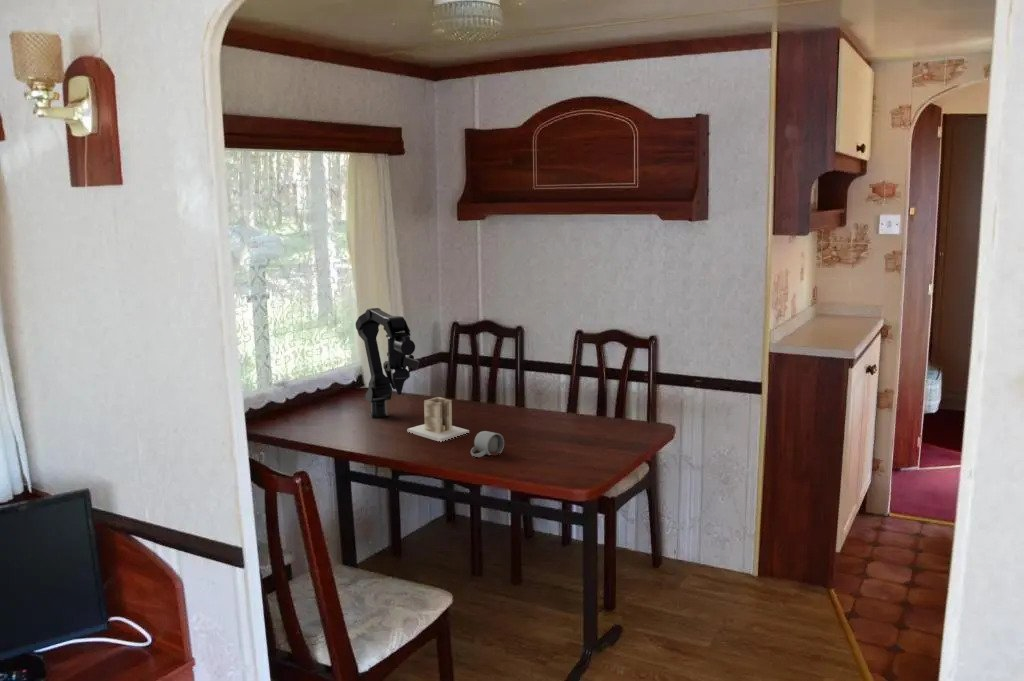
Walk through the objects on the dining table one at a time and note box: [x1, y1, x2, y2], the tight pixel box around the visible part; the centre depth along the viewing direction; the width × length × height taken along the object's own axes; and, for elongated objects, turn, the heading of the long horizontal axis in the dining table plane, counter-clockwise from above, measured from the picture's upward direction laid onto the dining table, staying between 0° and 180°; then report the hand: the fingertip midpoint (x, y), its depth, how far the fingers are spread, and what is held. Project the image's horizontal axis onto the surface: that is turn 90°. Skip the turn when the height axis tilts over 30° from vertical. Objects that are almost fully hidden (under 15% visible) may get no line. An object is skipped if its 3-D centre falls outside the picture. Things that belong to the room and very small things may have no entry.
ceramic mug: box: [470, 430, 505, 458], centre depth 285 cm, size 11×8×8 cm
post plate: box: [406, 423, 470, 443], centre depth 309 cm, size 18×14×5 cm
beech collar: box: [423, 396, 453, 434], centre depth 308 cm, size 7×7×11 cm
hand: (396, 391), depth 316 cm, fingers open, 9 cm apart
